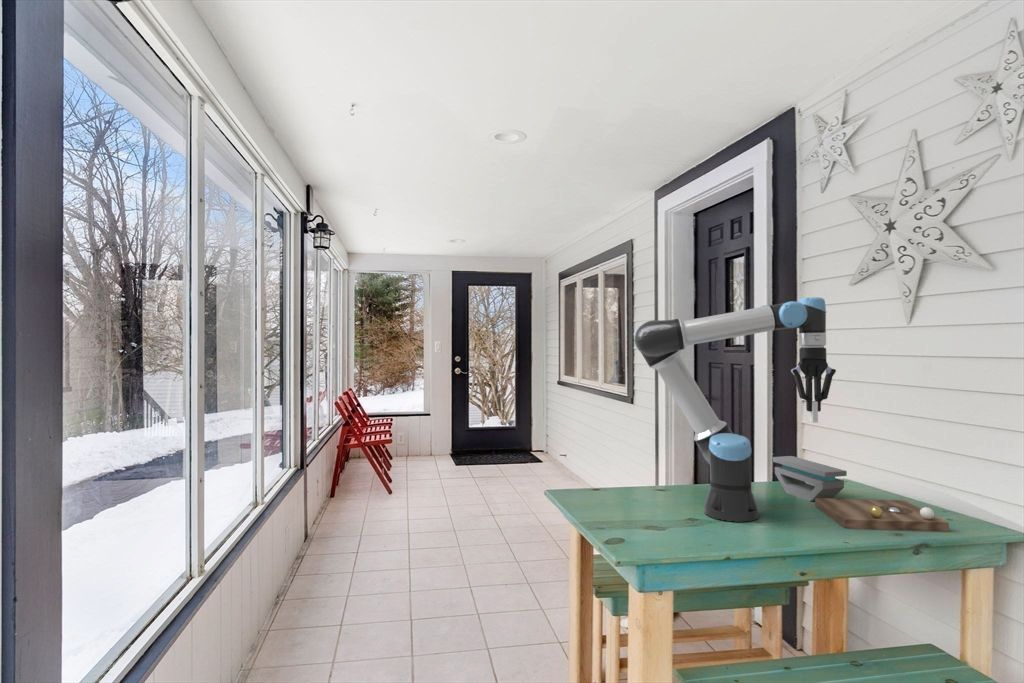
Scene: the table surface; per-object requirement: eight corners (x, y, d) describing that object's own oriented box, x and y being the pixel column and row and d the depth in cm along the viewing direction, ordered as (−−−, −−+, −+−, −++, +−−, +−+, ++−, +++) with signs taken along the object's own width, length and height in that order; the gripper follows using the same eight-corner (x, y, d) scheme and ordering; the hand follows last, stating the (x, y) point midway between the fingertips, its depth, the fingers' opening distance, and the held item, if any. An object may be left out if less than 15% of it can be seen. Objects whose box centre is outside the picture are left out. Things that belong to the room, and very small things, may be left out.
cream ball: (923, 520, 156) (923, 509, 156) (917, 517, 159) (917, 505, 159) (936, 521, 156) (936, 509, 156) (930, 517, 159) (929, 506, 159)
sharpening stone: (847, 505, 180) (846, 471, 180) (825, 507, 179) (825, 472, 179) (792, 486, 205) (791, 455, 205) (772, 487, 203) (772, 457, 203)
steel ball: (895, 506, 165) (905, 514, 165) (890, 503, 168) (899, 510, 168) (888, 515, 165) (897, 522, 165) (882, 511, 168) (892, 519, 168)
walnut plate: (845, 528, 158) (845, 519, 158) (815, 505, 180) (814, 498, 180) (948, 531, 155) (948, 522, 155) (905, 508, 176) (904, 500, 176)
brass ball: (872, 519, 158) (872, 507, 158) (867, 515, 161) (866, 504, 161) (885, 519, 158) (884, 507, 158) (879, 516, 161) (879, 504, 161)
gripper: (794, 347, 177) (795, 423, 177) (839, 346, 176) (841, 423, 175) (786, 347, 185) (787, 420, 185) (829, 346, 183) (831, 420, 183)
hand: (813, 421), depth 180 cm, fingers closed
